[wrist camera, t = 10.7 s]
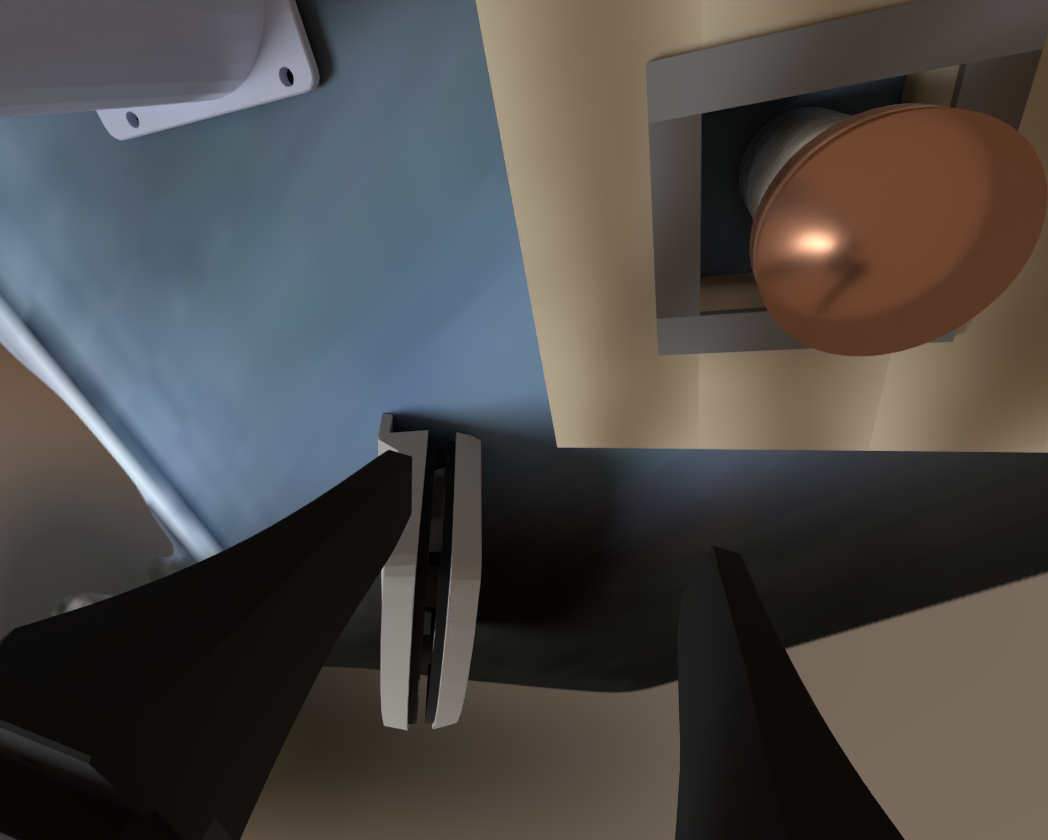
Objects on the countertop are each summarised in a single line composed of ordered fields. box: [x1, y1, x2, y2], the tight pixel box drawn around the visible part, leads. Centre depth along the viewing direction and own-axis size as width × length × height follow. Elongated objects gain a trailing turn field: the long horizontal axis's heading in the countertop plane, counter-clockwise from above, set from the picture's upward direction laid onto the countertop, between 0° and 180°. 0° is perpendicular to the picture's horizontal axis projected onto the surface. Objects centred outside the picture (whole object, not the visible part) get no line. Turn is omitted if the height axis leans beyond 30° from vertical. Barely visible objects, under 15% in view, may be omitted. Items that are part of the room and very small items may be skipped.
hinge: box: [378, 413, 482, 730], centre depth 25 cm, size 17×5×10 cm, turn 170°
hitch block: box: [476, 0, 1048, 452], centre depth 13 cm, size 15×15×3 cm
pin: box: [739, 103, 1048, 356], centre depth 11 cm, size 4×4×8 cm
